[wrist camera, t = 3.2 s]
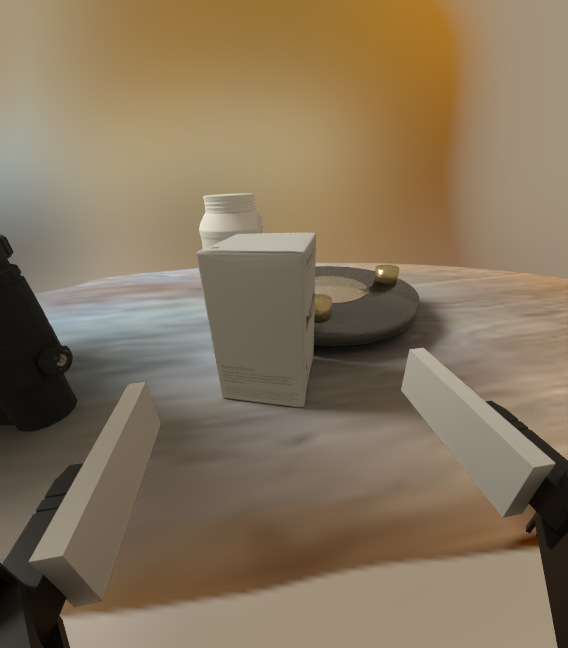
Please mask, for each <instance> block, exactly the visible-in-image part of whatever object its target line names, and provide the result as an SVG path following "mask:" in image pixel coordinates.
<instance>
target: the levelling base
mask: <svg viewBox="0 0 568 648" xmlns="http://www.w3.org/2000/svg"><path fill="white" fill-rule="evenodd" d="M398 273H399V267H397V266H393V265H379V266H376V270H375V271H371V270H366V269H359V268H350V267H332V266H323V267H315V316H314V345H322V346H352V345H361V344H369V343H373V342H378V341H382V340H385V339H388V338H391V337H394V336H396V335H398V334H400V333H402V332H403V331H405V330H406V329H408V328H409V327H410V326H411V325H412V323H413V322H414V320H415V317H416V312H417V307H418V302H419V296H418V293H417V292H416V290H415V289H414V288H413V287H412V286H410V285H409V284H408V283H406V282H404V281H402V280H400V279H398Z"/></svg>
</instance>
